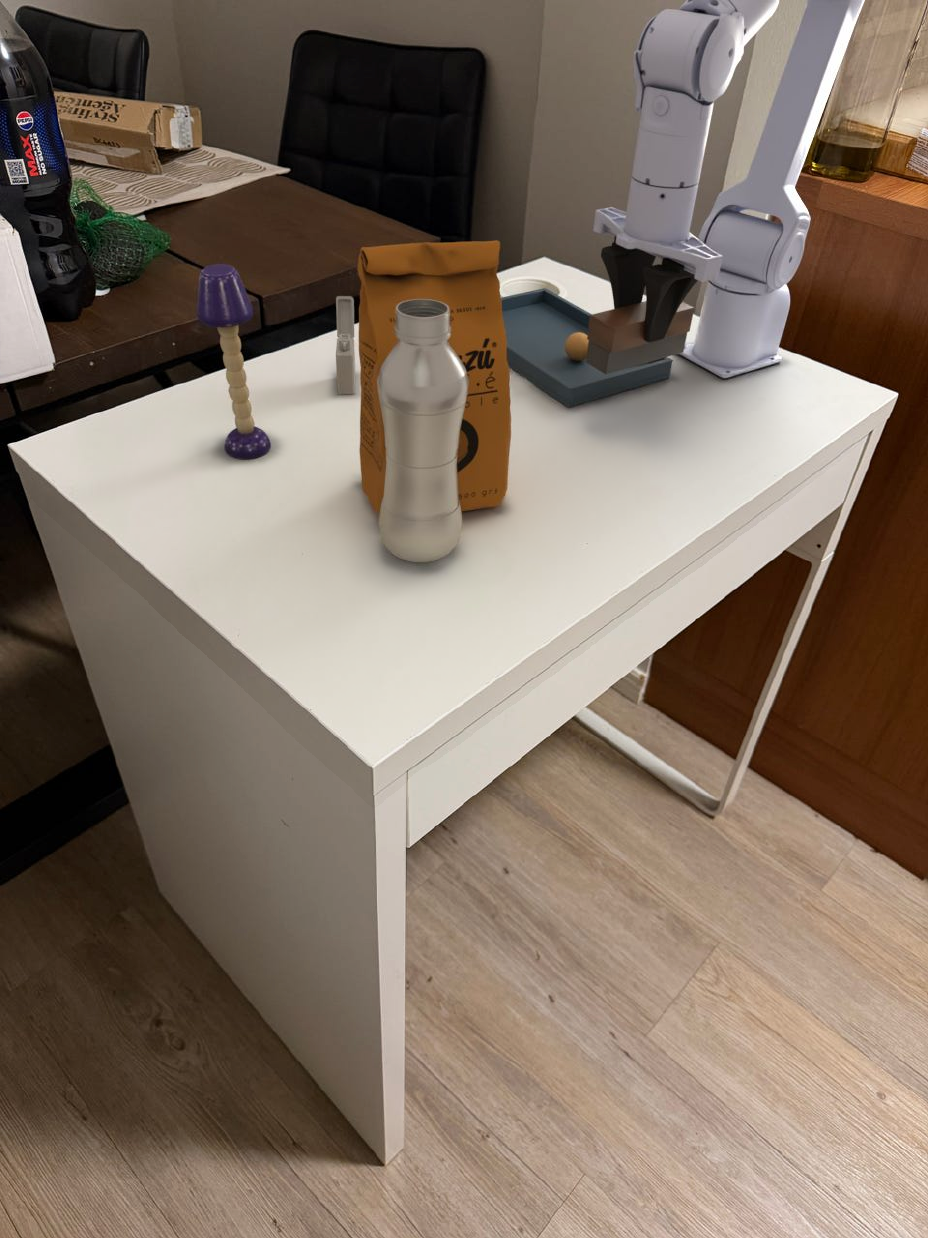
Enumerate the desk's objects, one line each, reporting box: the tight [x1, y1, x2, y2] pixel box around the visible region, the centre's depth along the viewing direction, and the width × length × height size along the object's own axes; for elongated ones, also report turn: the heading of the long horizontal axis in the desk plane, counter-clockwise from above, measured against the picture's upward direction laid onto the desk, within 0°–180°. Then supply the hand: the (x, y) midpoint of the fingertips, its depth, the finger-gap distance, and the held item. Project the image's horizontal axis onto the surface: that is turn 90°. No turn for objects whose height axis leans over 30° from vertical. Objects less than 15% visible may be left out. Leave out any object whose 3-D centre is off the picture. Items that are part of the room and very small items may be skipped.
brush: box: [586, 300, 695, 374], centre depth 88 cm, size 10×4×5 cm, turn 123°
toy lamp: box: [196, 263, 272, 460], centre depth 81 cm, size 5×5×17 cm
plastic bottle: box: [377, 299, 469, 563], centre depth 69 cm, size 6×7×20 cm
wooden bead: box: [565, 333, 589, 361], centre depth 101 cm, size 3×3×3 cm
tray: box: [501, 287, 674, 408], centre depth 105 cm, size 14×23×2 cm, turn 33°
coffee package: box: [356, 239, 512, 517], centre depth 74 cm, size 10×12×22 cm
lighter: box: [335, 295, 356, 395], centre depth 95 cm, size 7×2×8 cm, turn 4°
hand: (639, 331), depth 87 cm, fingers closed on brush, 3 cm apart
